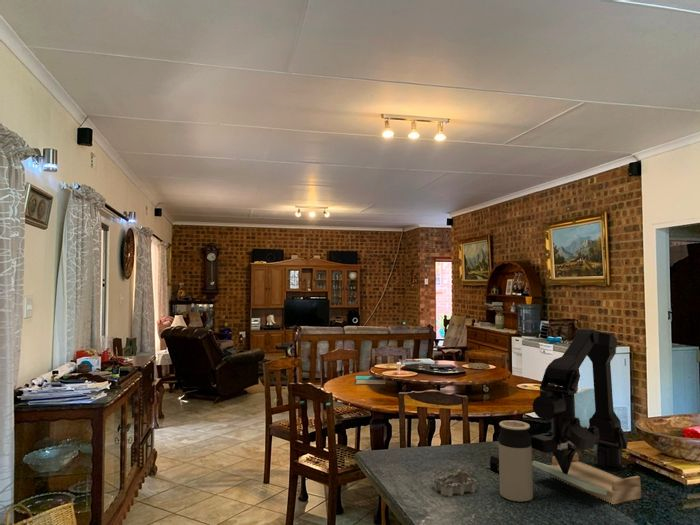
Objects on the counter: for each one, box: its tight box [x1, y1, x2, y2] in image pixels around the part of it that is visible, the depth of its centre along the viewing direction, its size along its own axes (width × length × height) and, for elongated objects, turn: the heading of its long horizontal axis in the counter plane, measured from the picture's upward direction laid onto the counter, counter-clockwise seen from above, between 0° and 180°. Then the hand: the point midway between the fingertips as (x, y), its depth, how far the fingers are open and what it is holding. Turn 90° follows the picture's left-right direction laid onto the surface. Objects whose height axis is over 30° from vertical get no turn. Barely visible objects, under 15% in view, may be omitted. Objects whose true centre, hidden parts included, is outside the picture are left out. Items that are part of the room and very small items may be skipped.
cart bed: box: [550, 452, 642, 505], centre depth 129 cm, size 10×20×5 cm, turn 22°
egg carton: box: [431, 468, 479, 497], centre depth 128 cm, size 11×8×4 cm
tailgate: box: [532, 460, 608, 495], centre depth 126 cm, size 2×18×7 cm
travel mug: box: [498, 419, 534, 503], centre depth 124 cm, size 8×8×18 cm
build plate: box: [486, 453, 499, 475], centre depth 141 cm, size 12×7×5 cm, turn 32°
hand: (565, 473), depth 126 cm, fingers closed, pressing on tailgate
